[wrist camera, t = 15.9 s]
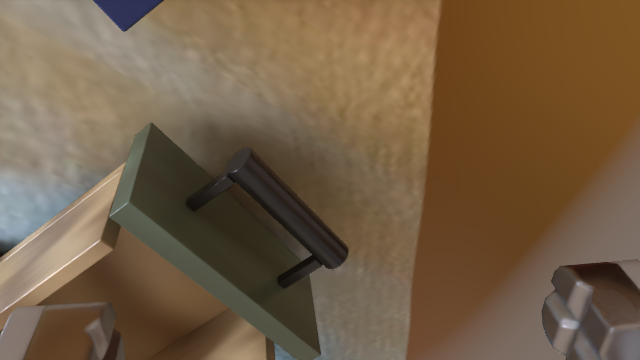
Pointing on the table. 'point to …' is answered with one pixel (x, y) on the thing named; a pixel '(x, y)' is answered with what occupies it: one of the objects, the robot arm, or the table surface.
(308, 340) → the drawer
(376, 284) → the table surface
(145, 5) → the navy box
